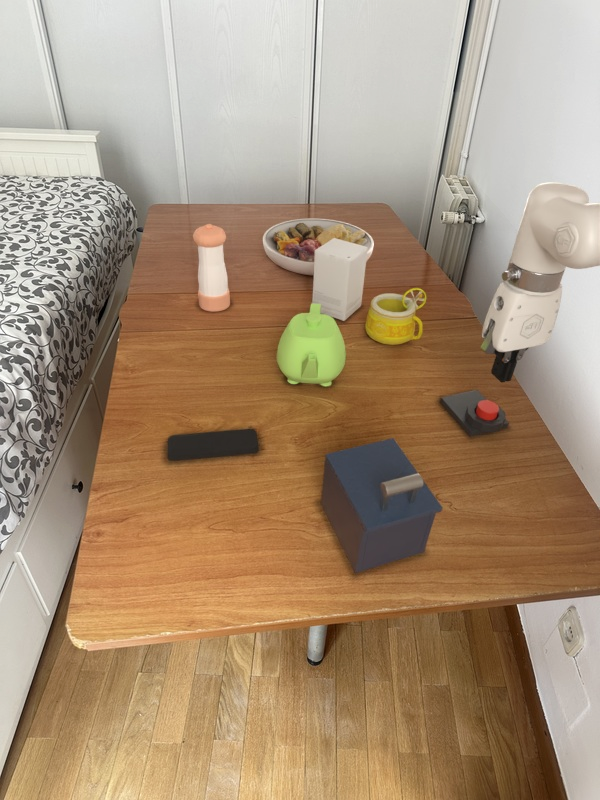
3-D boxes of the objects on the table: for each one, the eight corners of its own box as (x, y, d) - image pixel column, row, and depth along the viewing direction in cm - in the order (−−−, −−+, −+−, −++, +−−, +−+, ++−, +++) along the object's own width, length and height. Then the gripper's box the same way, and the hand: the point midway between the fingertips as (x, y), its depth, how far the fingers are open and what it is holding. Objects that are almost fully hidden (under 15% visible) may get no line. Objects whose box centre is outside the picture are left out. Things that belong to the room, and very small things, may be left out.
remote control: (256, 435, 93) (167, 440, 90) (256, 427, 92) (166, 433, 89) (259, 455, 89) (167, 461, 87) (259, 447, 88) (166, 453, 86)
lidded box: (424, 552, 75) (438, 507, 69) (355, 573, 72) (363, 528, 66) (383, 487, 84) (392, 442, 78) (320, 503, 81) (325, 458, 75)
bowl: (277, 229, 162) (277, 203, 157) (376, 241, 158) (379, 214, 153) (250, 273, 139) (249, 244, 134) (365, 287, 135) (369, 258, 130)
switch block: (511, 432, 95) (516, 419, 93) (473, 441, 93) (477, 429, 91) (475, 394, 103) (479, 381, 102) (439, 402, 101) (442, 389, 99)
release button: (500, 418, 94) (503, 410, 93) (483, 422, 93) (485, 415, 92) (488, 405, 97) (491, 398, 96) (471, 409, 96) (473, 402, 95)
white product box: (362, 306, 128) (369, 246, 119) (344, 322, 122) (350, 260, 113) (329, 295, 132) (334, 236, 122) (310, 310, 126) (313, 249, 116)
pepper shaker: (204, 314, 123) (196, 232, 111) (195, 299, 128) (187, 220, 116) (234, 308, 125) (230, 228, 113) (224, 294, 130) (220, 216, 118)
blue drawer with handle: (441, 511, 68) (450, 483, 65) (366, 533, 65) (371, 504, 62) (392, 441, 78) (398, 413, 75) (325, 457, 75) (327, 429, 72)
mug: (354, 337, 117) (360, 288, 110) (378, 317, 124) (385, 269, 117) (408, 358, 112) (418, 307, 104) (429, 335, 119) (440, 286, 112)
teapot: (343, 407, 99) (350, 350, 91) (271, 401, 99) (271, 344, 91) (344, 346, 114) (349, 293, 106) (281, 342, 115) (282, 289, 107)
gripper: (506, 293, 73) (475, 399, 84) (593, 279, 77) (552, 382, 89) (474, 270, 78) (449, 372, 90) (557, 258, 83) (522, 357, 94)
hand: (500, 377), depth 89 cm, fingers closed
